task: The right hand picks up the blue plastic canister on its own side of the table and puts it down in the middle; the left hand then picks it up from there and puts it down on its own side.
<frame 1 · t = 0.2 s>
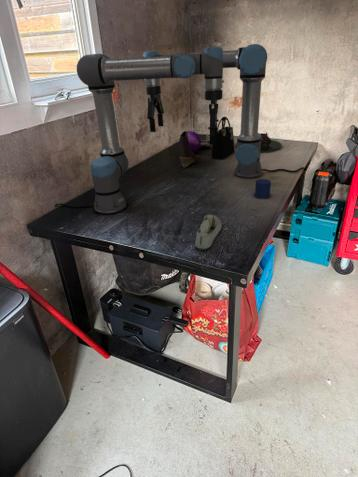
left hand: (213, 140, 149), 28 cm above the table, tool pointing down, fingers open, 13 cm apart
right hand: (157, 129, 177), 28 cm above the table, tool pointing down, fingers open, 13 cm apart
boot: (188, 162, 214), on the table
ballet flat: (209, 235, 130), on the table
pair of gloves: (209, 144, 252), on the table
handbag: (223, 155, 225), on the table
miniature village: (256, 146, 240), on the table
canister: (262, 195, 162), on the table
decorative orb: (190, 153, 234), on the table
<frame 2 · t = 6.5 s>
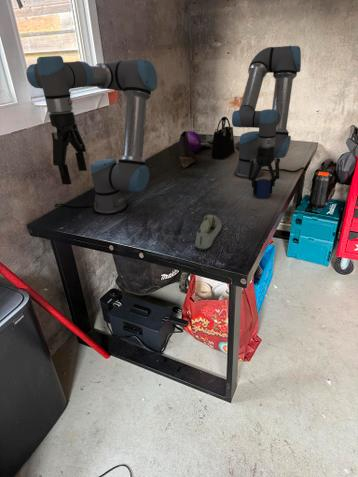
left hand: (75, 177, 114), 28 cm above the table, tool pointing down, fingers open, 13 cm apart
right hand: (262, 193, 161), 1 cm above the table, tool pointing down, fingers closed on canister, 7 cm apart
canister: (262, 195, 162), on the table, touching right hand
everything else where it was.
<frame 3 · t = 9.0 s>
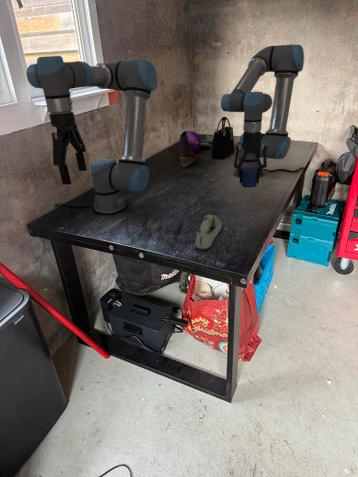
left hand: (75, 177, 114), 28 cm above the table, tool pointing down, fingers open, 13 cm apart
right hand: (249, 182, 152), 10 cm above the table, tool pointing down, fingers closed on canister, 7 cm apart
canister: (248, 184, 153), point 8 cm above the table, touching right hand
everything else where it was.
when the right hand's fingers open (2 cm above the table, at t = 11.7 s): canister drops 1 cm, on the table.
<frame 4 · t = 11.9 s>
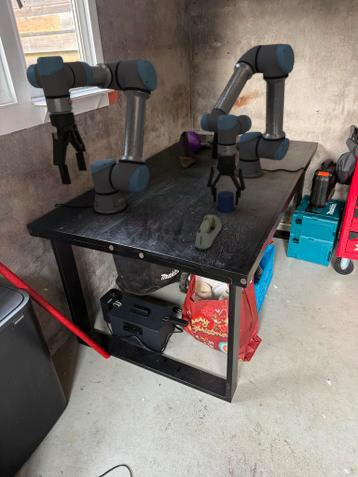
left hand: (75, 177, 114), 28 cm above the table, tool pointing down, fingers open, 13 cm apart
right hand: (225, 202, 149), 3 cm above the table, tool pointing down, fingers open, 9 cm apart
canister: (225, 208, 151), on the table
everything else where it was.
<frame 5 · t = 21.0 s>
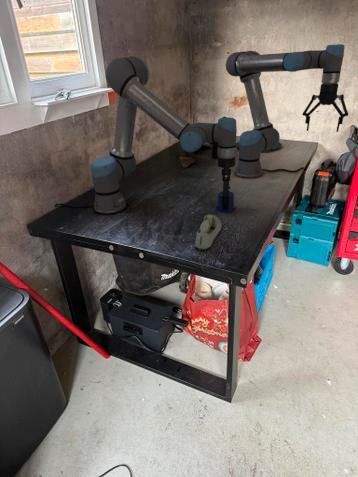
left hand: (225, 206, 150), 1 cm above the table, tool pointing down, fingers closed on canister, 7 cm apart
right hand: (322, 130, 162), 26 cm above the table, tool pointing down, fingers open, 13 cm apart
canister: (225, 208, 151), on the table, touching left hand
everything else where it was.
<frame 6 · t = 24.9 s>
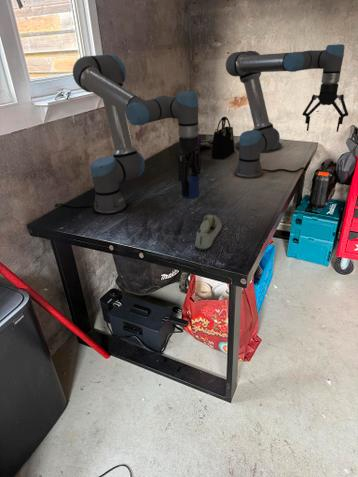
left hand: (190, 192, 136), 13 cm above the table, tool pointing down, fingers closed on canister, 7 cm apart
right hand: (322, 130, 162), 26 cm above the table, tool pointing down, fingers open, 13 cm apart
canister: (190, 195, 137), point 12 cm above the table, touching left hand
everything else where it was.
when the left hand's fingers open (2 cm above the table, at t = 29.2 s): canister drops 1 cm, on the table.
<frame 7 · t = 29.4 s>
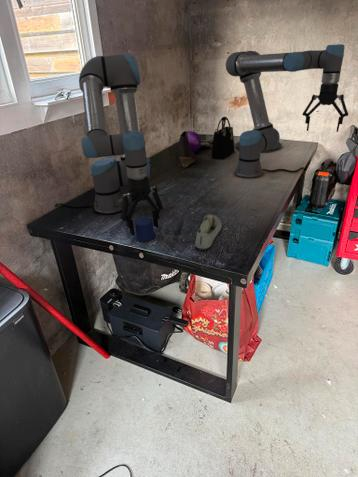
left hand: (144, 230, 131), 3 cm above the table, tool pointing down, fingers open, 10 cm apart
right hand: (322, 130, 162), 26 cm above the table, tool pointing down, fingers open, 13 cm apart
canister: (145, 237, 132), on the table
everything else where it was.
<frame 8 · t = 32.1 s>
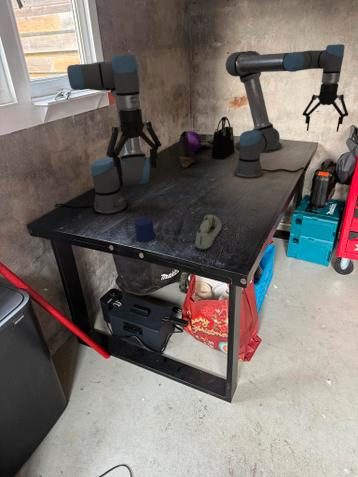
left hand: (137, 171, 118), 27 cm above the table, tool pointing down, fingers open, 13 cm apart
right hand: (322, 130, 162), 26 cm above the table, tool pointing down, fingers open, 13 cm apart
nothing on the table moved.
at the end: canister inside the target area (0.0 cm from its centre), on the table; canister tilted 0°; the two hands never held the canister at the same time; the left hand is holding nothing; the right hand is holding nothing; canister at rest at the end (0.0 cm/s) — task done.
